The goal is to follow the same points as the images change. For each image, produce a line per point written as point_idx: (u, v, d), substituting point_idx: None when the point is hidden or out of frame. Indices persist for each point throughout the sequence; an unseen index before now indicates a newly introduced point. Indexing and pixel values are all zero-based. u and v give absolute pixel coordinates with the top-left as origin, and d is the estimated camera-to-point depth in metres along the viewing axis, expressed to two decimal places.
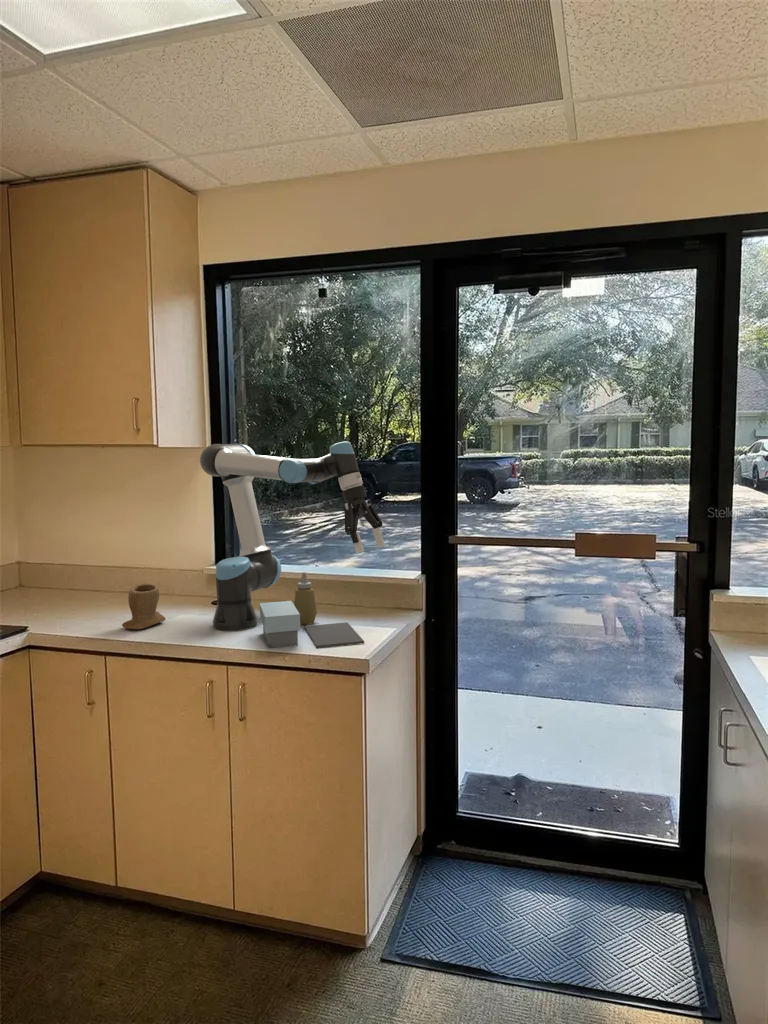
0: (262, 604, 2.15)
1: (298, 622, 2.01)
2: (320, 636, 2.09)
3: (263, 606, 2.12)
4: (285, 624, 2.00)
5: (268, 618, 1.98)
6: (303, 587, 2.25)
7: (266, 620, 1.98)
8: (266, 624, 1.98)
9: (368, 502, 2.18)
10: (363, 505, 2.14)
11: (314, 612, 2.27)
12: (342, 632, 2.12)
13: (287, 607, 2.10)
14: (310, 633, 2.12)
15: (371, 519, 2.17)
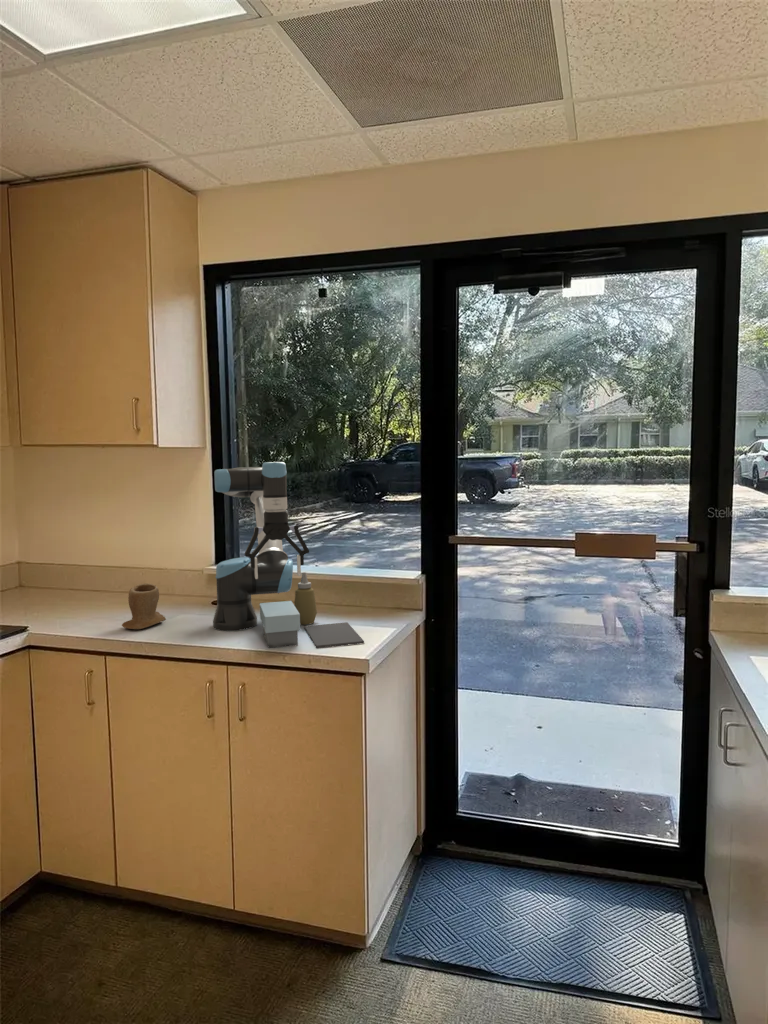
0: (262, 604, 2.15)
1: (298, 622, 2.01)
2: (320, 636, 2.09)
3: (263, 606, 2.12)
4: (285, 624, 2.00)
5: (268, 618, 1.98)
6: (303, 587, 2.25)
7: (266, 620, 1.98)
8: (266, 624, 1.98)
9: (294, 527, 2.07)
10: (279, 531, 2.05)
11: (314, 612, 2.27)
12: (342, 632, 2.12)
13: (287, 607, 2.10)
14: (310, 633, 2.12)
15: (292, 546, 2.07)
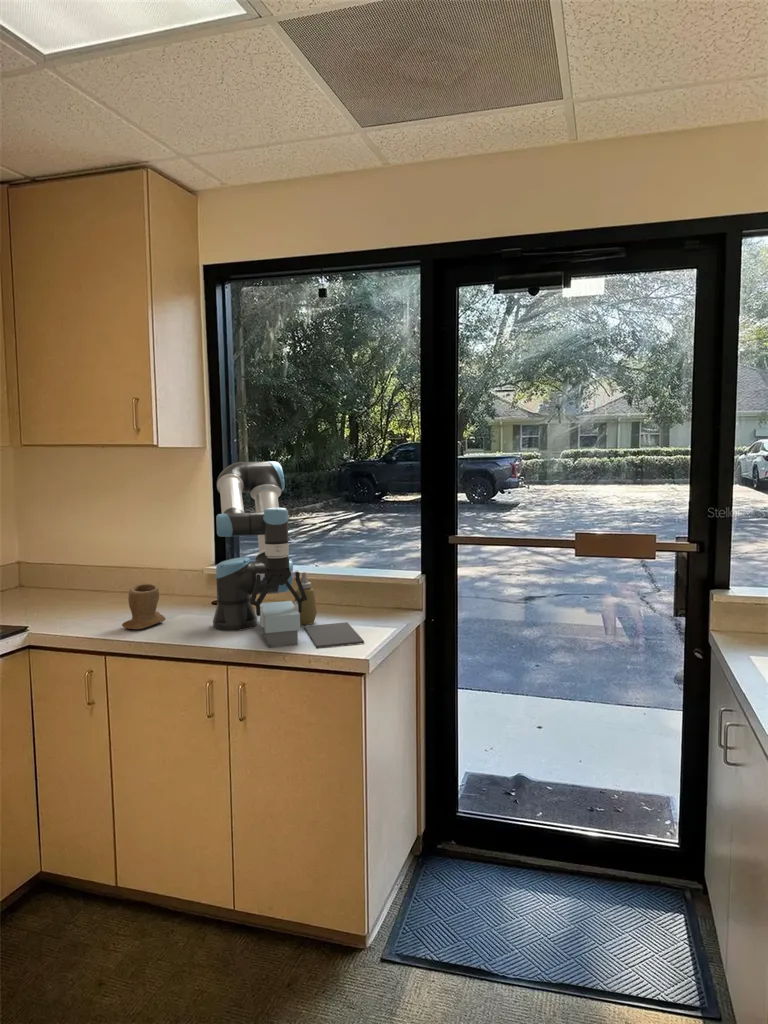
0: (262, 604, 2.15)
1: (298, 622, 2.01)
2: (320, 636, 2.09)
3: (263, 606, 2.12)
4: (285, 624, 2.00)
5: (268, 618, 1.98)
6: (303, 587, 2.25)
7: (266, 620, 1.98)
8: (266, 624, 1.98)
9: (295, 574, 2.08)
10: (280, 577, 2.06)
11: (314, 612, 2.27)
12: (342, 632, 2.12)
13: (287, 607, 2.10)
14: (310, 633, 2.12)
15: (291, 592, 2.09)
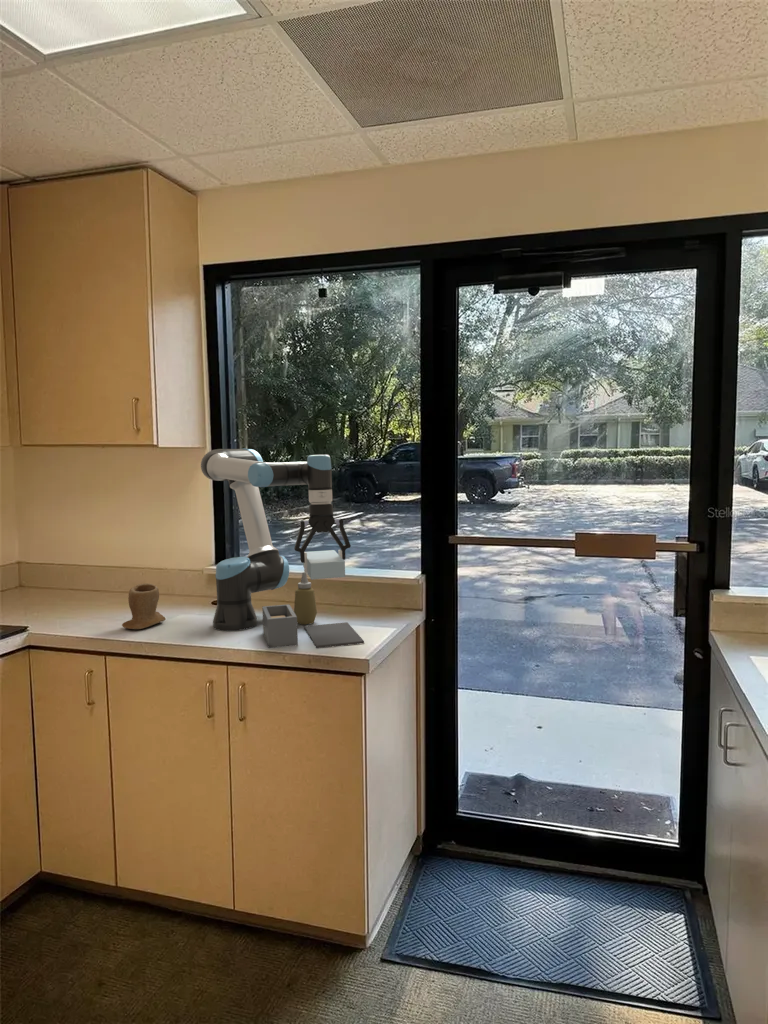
0: None
1: (343, 569, 2.01)
2: (320, 636, 2.09)
3: (307, 554, 2.12)
4: (330, 571, 2.00)
5: (313, 564, 1.98)
6: (303, 587, 2.25)
7: (311, 566, 1.98)
8: (311, 570, 1.98)
9: (339, 521, 2.09)
10: (324, 523, 2.07)
11: (314, 612, 2.27)
12: (342, 632, 2.12)
13: (331, 555, 2.10)
14: (310, 633, 2.12)
15: (335, 539, 2.09)
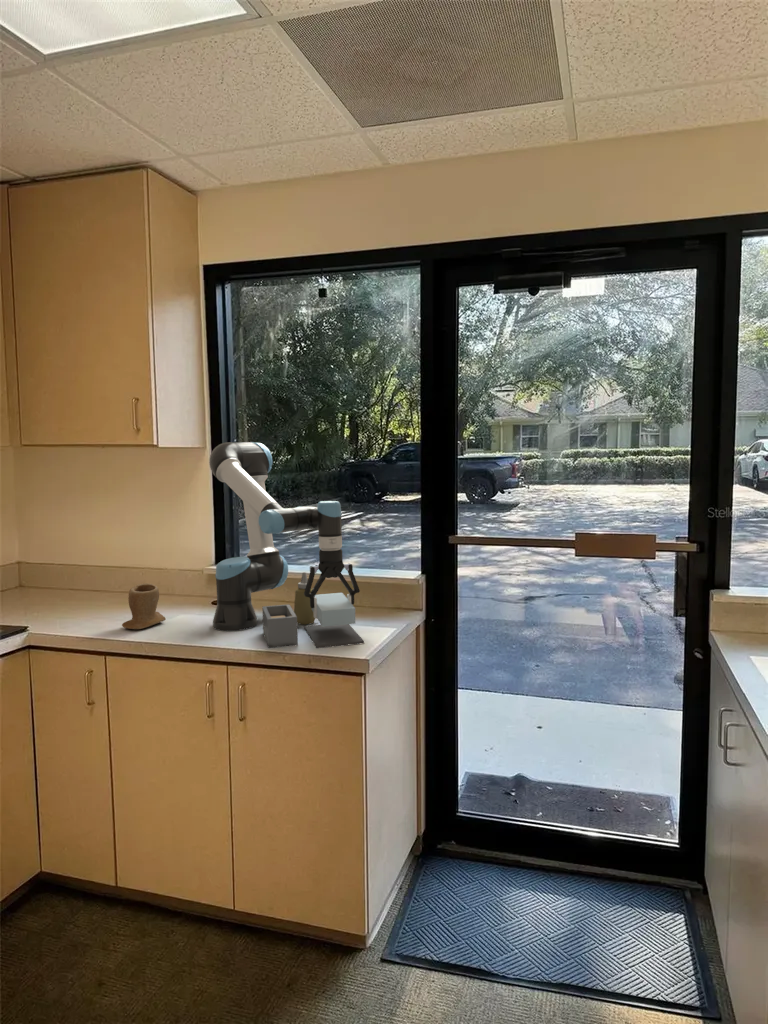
0: None
1: (353, 616, 2.03)
2: (320, 636, 2.09)
3: None
4: (341, 618, 2.02)
5: (324, 612, 2.00)
6: (303, 587, 2.25)
7: (322, 614, 2.00)
8: (322, 618, 2.00)
9: (348, 566, 2.11)
10: (334, 569, 2.09)
11: None
12: (342, 632, 2.12)
13: (340, 600, 2.12)
14: (310, 633, 2.12)
15: (344, 584, 2.11)
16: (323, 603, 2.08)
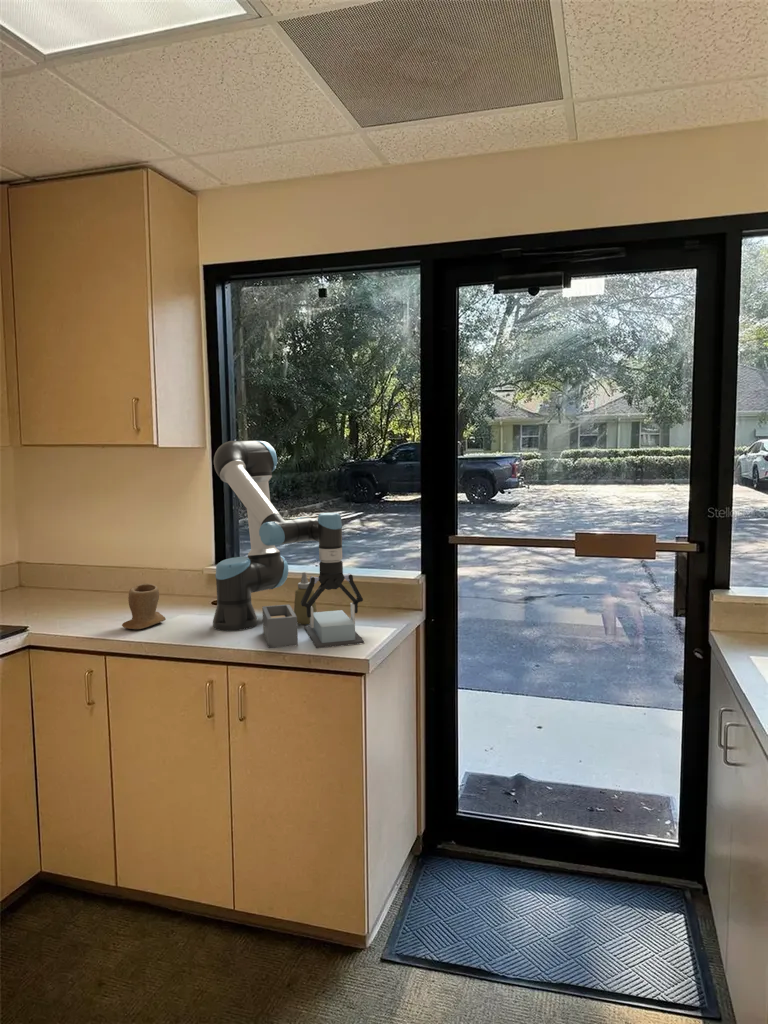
0: (314, 613, 2.18)
1: (353, 632, 2.04)
2: None
3: (316, 616, 2.15)
4: (341, 634, 2.03)
5: (324, 628, 2.01)
6: (303, 587, 2.25)
7: (322, 630, 2.01)
8: (322, 634, 2.01)
9: (349, 577, 2.11)
10: (334, 581, 2.09)
11: None
12: None
13: (340, 617, 2.13)
14: (310, 633, 2.12)
15: (346, 594, 2.12)
16: (323, 620, 2.09)
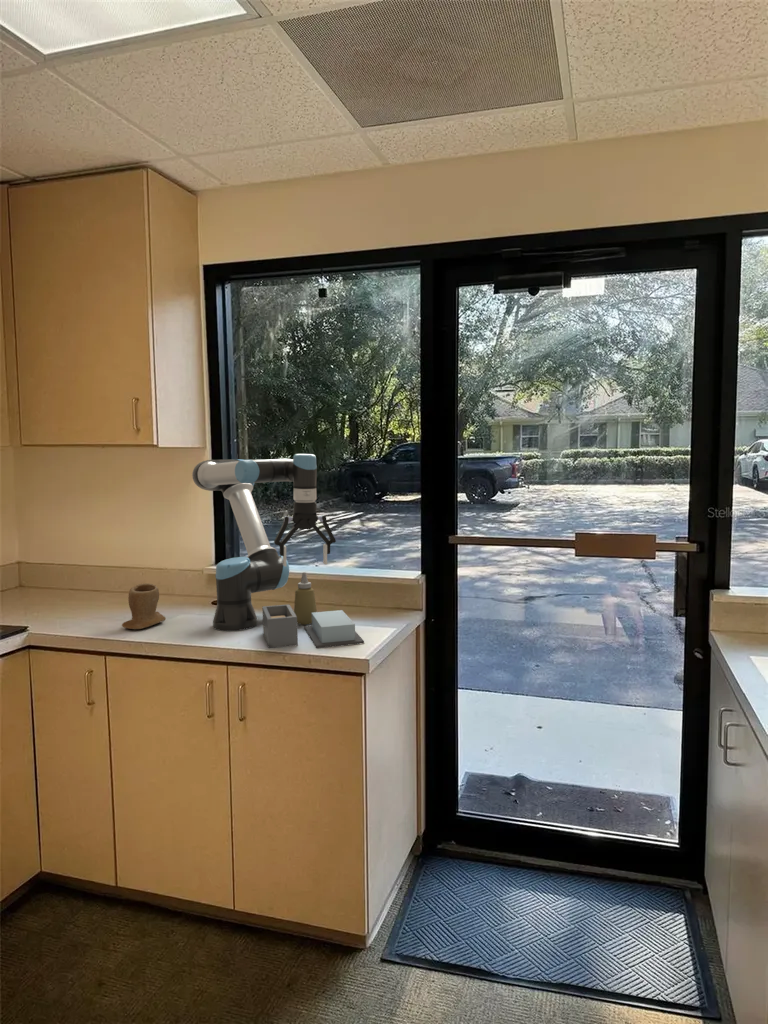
0: (314, 613, 2.18)
1: (353, 632, 2.04)
2: None
3: (316, 616, 2.15)
4: (341, 634, 2.03)
5: (324, 628, 2.01)
6: (303, 587, 2.25)
7: (322, 630, 2.01)
8: (322, 634, 2.01)
9: (322, 518, 2.15)
10: (308, 521, 2.13)
11: None
12: None
13: (340, 617, 2.13)
14: (310, 633, 2.12)
15: (319, 535, 2.15)
16: (323, 620, 2.09)
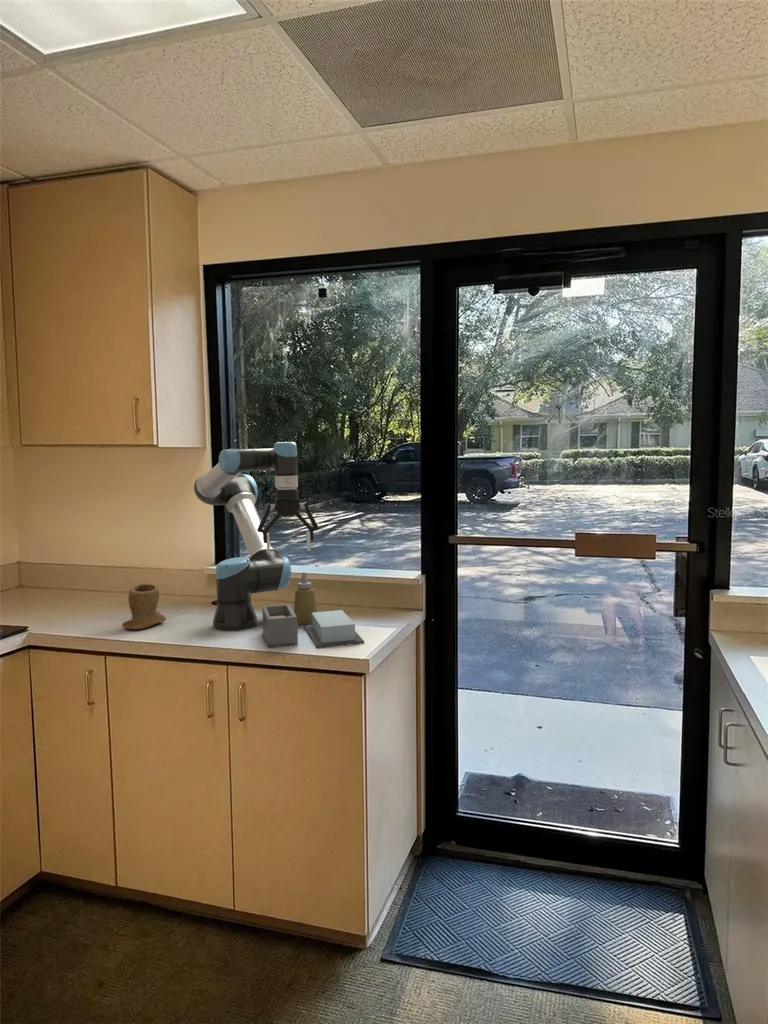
0: (314, 613, 2.18)
1: (353, 632, 2.04)
2: None
3: (316, 616, 2.15)
4: (341, 634, 2.03)
5: (324, 628, 2.01)
6: (303, 587, 2.25)
7: (322, 630, 2.01)
8: (322, 634, 2.01)
9: (304, 505, 2.17)
10: (290, 508, 2.15)
11: None
12: None
13: (340, 617, 2.13)
14: (310, 633, 2.12)
15: (302, 522, 2.18)
16: (323, 620, 2.09)
